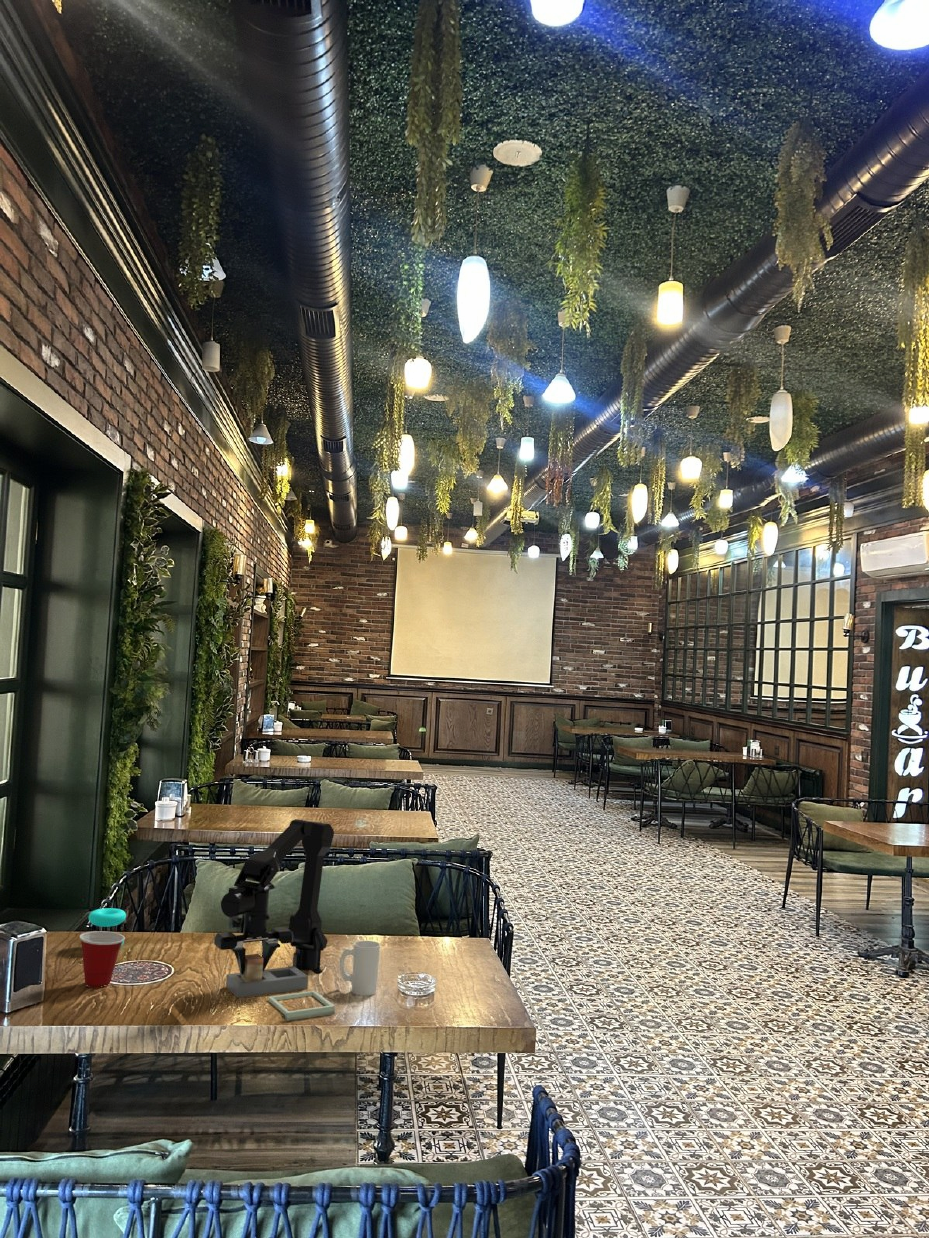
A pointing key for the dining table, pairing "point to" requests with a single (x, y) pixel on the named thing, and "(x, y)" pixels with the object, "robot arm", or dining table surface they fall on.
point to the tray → (304, 1012)
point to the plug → (253, 968)
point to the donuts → (107, 917)
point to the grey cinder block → (268, 982)
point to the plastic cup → (100, 956)
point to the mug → (362, 967)
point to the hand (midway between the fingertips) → (251, 972)
